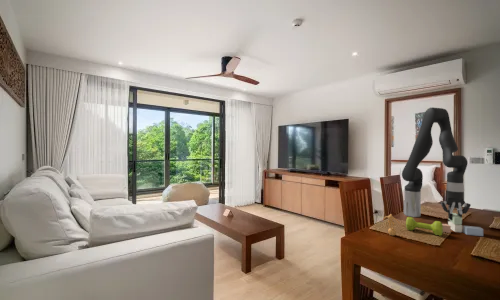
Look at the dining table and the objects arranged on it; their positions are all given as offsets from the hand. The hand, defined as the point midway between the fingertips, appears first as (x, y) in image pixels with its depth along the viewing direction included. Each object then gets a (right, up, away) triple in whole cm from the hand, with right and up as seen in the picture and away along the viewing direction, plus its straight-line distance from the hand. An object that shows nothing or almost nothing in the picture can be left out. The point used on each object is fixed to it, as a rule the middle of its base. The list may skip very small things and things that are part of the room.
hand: (455, 219), depth 131 cm
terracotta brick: (-9, -6, -2) cm, 11 cm away
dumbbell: (-20, -6, -3) cm, 21 cm away
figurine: (-41, -6, -8) cm, 43 cm away
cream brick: (0, -6, 0) cm, 6 cm away
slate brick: (+4, -6, -7) cm, 10 cm away
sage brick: (0, -1, 0) cm, 1 cm away
